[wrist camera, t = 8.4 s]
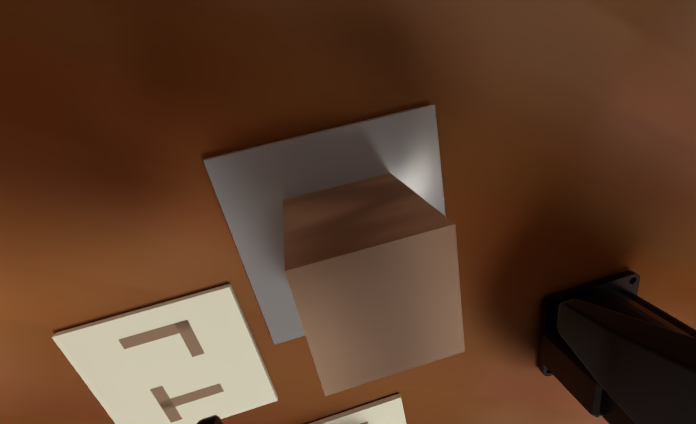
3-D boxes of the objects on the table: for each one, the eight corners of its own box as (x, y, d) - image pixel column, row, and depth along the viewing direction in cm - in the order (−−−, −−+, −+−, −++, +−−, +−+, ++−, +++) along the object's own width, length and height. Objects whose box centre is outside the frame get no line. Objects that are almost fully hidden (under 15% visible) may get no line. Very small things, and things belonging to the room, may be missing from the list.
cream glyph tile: (230, 283, 16) (229, 287, 15) (277, 396, 19) (277, 400, 19) (55, 332, 15) (51, 337, 15) (135, 441, 18) (133, 447, 18)
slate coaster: (431, 104, 15) (434, 104, 14) (449, 286, 18) (452, 290, 18) (205, 158, 14) (203, 160, 13) (274, 339, 17) (274, 344, 17)
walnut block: (390, 172, 15) (455, 223, 9) (404, 264, 17) (464, 351, 11) (282, 200, 14) (284, 271, 9) (309, 291, 16) (325, 396, 11)
